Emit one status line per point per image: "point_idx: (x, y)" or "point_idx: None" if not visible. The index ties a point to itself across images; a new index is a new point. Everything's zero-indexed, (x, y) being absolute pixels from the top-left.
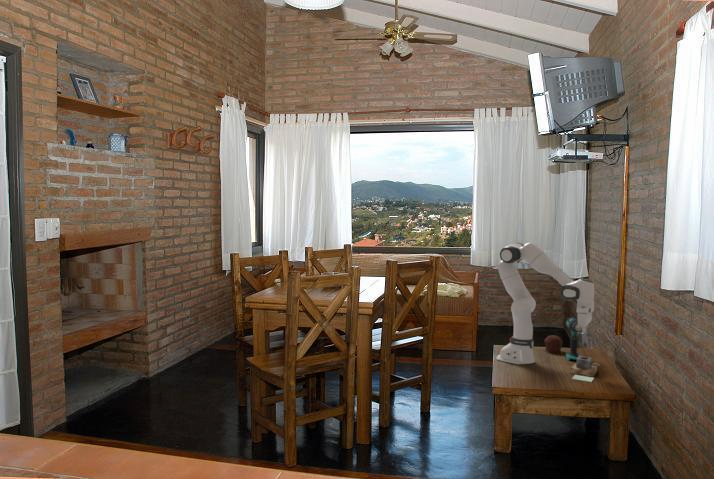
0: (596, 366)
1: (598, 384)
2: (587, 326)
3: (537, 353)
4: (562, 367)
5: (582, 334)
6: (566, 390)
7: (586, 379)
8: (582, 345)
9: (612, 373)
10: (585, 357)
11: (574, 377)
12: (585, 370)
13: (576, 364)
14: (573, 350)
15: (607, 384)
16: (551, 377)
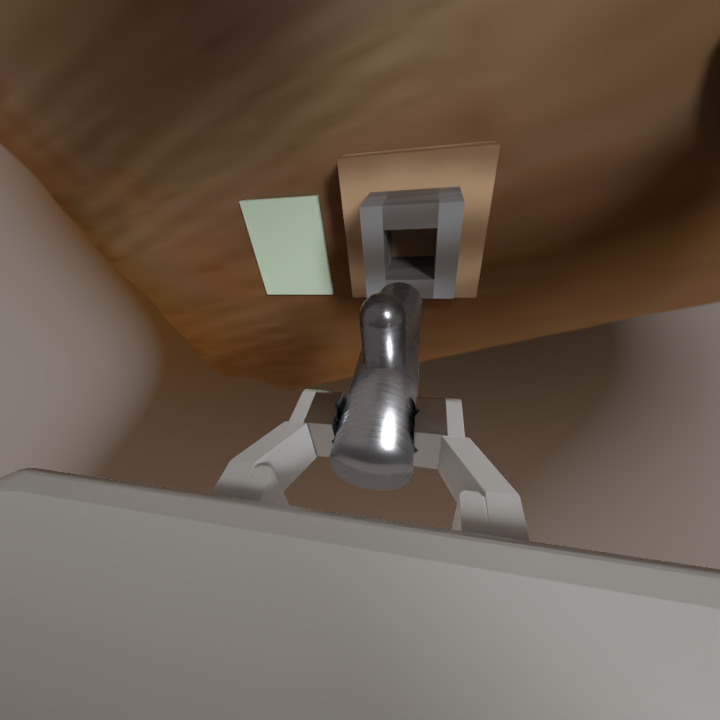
0: (465, 295)
1: (265, 320)
2: (455, 497)
3: None
4: (465, 28)
5: (365, 356)
6: (83, 227)
7: (280, 270)
8: (384, 288)
9: (467, 346)
10: (440, 258)
11: (265, 209)
12: (348, 257)
13: (366, 198)
14: None
15: (291, 346)
16: (168, 64)
